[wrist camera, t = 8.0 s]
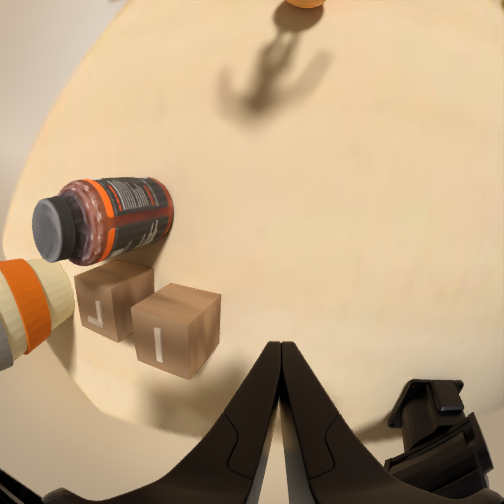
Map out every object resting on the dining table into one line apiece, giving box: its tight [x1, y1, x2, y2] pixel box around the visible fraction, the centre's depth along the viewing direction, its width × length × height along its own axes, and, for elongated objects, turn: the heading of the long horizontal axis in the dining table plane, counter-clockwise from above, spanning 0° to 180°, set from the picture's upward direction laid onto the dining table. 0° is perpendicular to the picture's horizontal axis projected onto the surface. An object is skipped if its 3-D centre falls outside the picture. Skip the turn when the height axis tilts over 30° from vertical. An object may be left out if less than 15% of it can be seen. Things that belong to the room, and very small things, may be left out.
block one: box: [131, 283, 221, 380], centre depth 22 cm, size 5×5×6 cm
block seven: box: [74, 260, 154, 343], centre depth 23 cm, size 5×5×6 cm
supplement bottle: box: [32, 177, 173, 266], centre depth 18 cm, size 6×6×11 cm
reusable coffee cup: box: [0, 258, 74, 371], centre depth 24 cm, size 13×12×15 cm
